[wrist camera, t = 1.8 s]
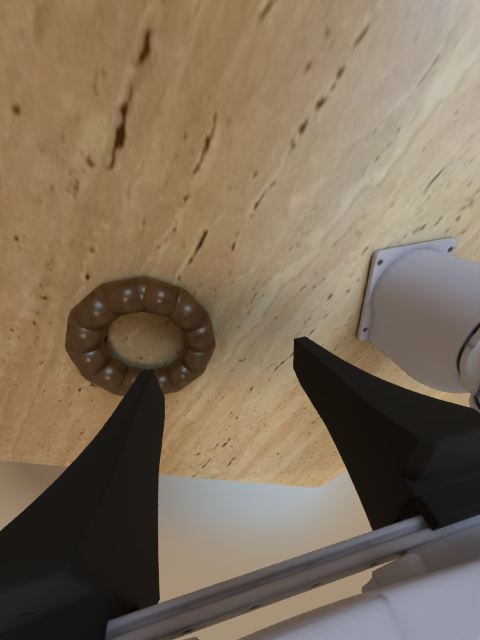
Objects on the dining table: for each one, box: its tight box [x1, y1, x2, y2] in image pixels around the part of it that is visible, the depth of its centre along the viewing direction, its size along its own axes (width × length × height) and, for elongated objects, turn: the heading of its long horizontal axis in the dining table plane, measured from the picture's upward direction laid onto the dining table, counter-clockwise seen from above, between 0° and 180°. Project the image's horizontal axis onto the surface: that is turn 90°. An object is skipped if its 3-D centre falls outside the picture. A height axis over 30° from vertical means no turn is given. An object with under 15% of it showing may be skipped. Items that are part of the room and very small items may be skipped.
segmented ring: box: [65, 277, 215, 396], centre depth 19 cm, size 11×11×2 cm
